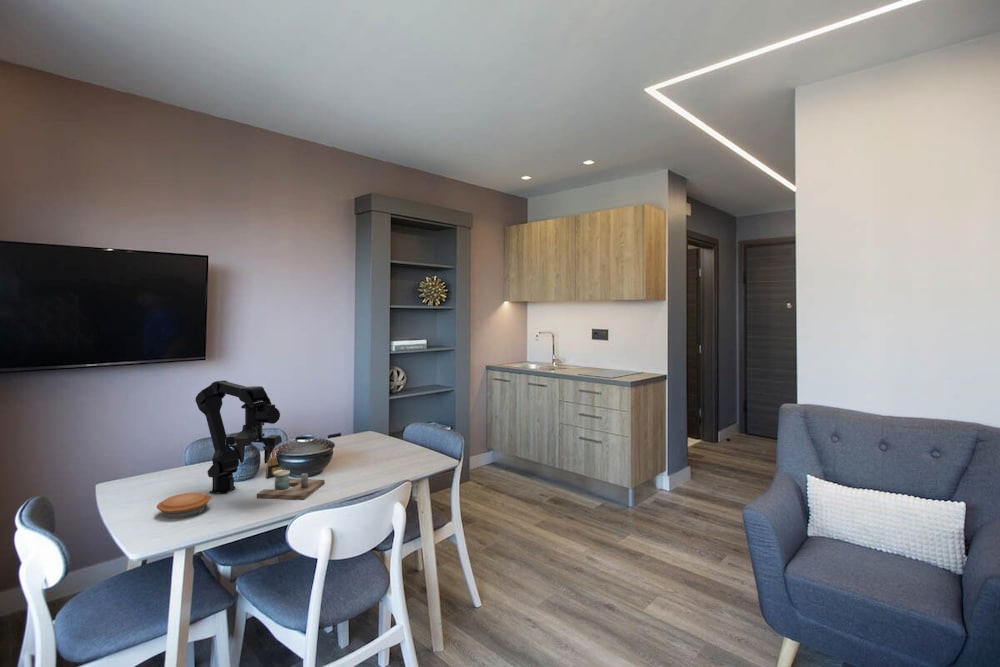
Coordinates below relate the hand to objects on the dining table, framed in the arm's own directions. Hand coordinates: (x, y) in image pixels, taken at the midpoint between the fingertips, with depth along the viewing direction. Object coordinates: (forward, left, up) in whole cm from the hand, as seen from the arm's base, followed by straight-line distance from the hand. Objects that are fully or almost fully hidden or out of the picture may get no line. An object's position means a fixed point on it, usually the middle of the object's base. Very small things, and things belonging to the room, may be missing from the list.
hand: (253, 463), depth 180 cm
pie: (-16, -15, -13) cm, 26 cm away
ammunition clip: (-4, +26, -13) cm, 29 cm away
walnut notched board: (+10, +9, -13) cm, 19 cm away
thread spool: (+6, +9, -13) cm, 17 cm away
